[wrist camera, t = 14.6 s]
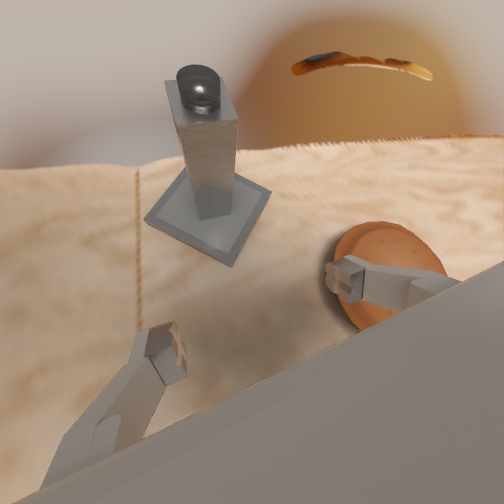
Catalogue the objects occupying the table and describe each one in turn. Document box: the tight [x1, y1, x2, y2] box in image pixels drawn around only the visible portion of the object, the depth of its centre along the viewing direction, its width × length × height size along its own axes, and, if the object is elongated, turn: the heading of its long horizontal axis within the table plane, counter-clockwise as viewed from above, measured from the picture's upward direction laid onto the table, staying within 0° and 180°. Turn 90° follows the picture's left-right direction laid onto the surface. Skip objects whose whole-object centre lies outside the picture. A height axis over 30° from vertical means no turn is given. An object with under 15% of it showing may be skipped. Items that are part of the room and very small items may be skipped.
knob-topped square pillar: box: [164, 65, 238, 221], centre depth 18 cm, size 4×4×14 cm
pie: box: [333, 221, 447, 331], centre depth 24 cm, size 15×16×5 cm
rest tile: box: [144, 167, 272, 267], centre depth 26 cm, size 12×12×1 cm
